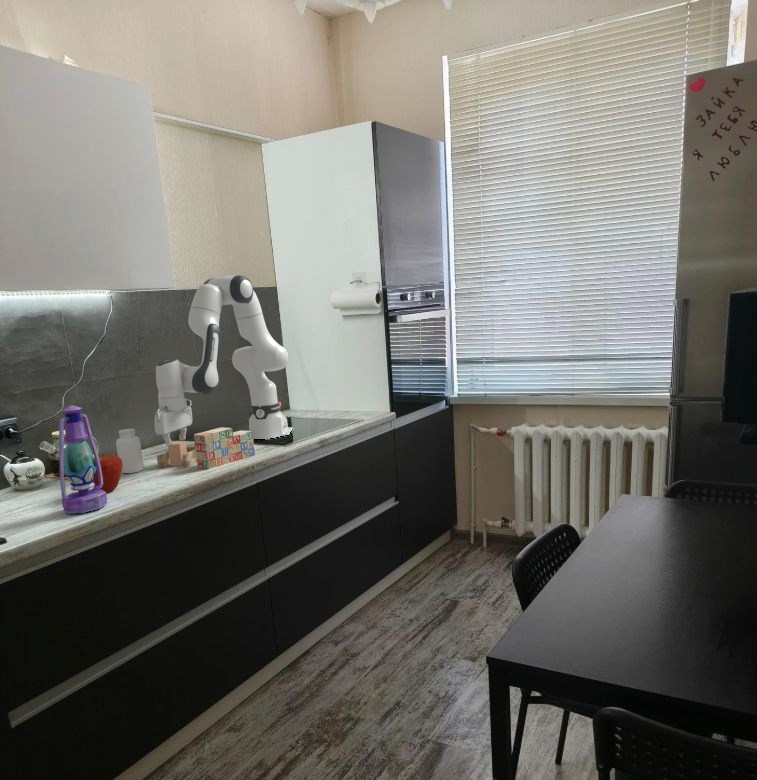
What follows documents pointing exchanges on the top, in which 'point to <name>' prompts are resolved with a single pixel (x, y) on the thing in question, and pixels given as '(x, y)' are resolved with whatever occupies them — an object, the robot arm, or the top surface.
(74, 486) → the lantern
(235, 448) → the stack of blocks
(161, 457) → the oak u-shaped frame
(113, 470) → the apple
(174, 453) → the terracotta block
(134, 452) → the pill bottle
